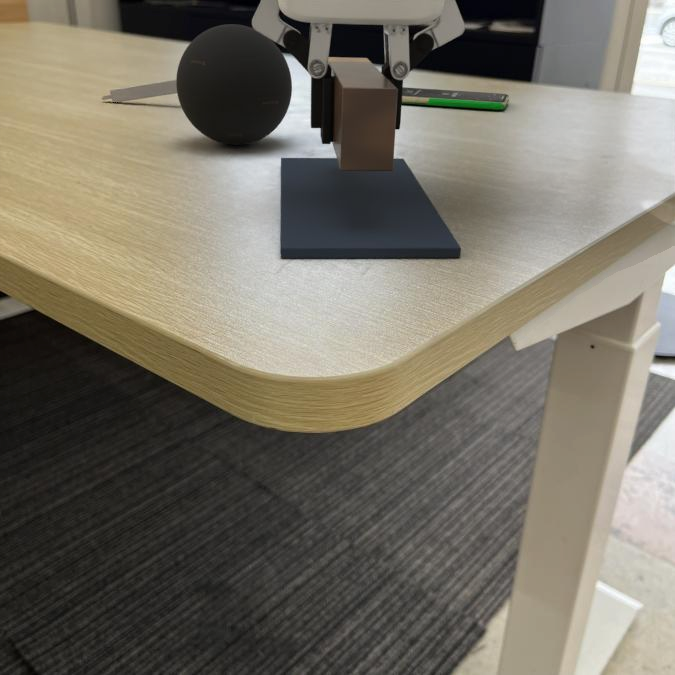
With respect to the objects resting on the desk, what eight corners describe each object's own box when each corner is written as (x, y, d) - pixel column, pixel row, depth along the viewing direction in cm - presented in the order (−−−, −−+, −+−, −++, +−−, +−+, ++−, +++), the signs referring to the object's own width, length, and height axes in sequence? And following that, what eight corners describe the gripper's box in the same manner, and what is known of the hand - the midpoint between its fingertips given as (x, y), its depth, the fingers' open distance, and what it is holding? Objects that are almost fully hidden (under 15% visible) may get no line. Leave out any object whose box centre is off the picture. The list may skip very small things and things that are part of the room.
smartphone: (505, 102, 86) (378, 94, 90) (504, 111, 86) (378, 102, 90) (510, 93, 92) (392, 86, 96) (509, 101, 93) (391, 93, 97)
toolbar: (340, 170, 42) (342, 87, 40) (325, 120, 56) (326, 57, 54) (392, 171, 42) (398, 88, 40) (364, 120, 57) (367, 57, 55)
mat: (403, 165, 61) (403, 158, 61) (460, 258, 42) (461, 247, 41) (281, 165, 61) (281, 157, 60) (280, 258, 41) (280, 248, 41)
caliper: (270, 112, 83) (270, 52, 80) (267, 113, 82) (266, 53, 79) (106, 100, 88) (100, 43, 85) (101, 102, 87) (94, 44, 84)
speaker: (292, 133, 72) (292, 21, 68) (291, 157, 63) (290, 29, 59) (188, 132, 72) (181, 19, 67) (172, 155, 63) (163, 27, 58)
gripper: (495, -179, 45) (464, 131, 53) (222, -191, 44) (232, 128, 52) (532, -205, 38) (490, 154, 46) (211, -221, 37) (225, 151, 45)
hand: (354, 137), depth 49 cm, fingers closed on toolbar, 3 cm apart
